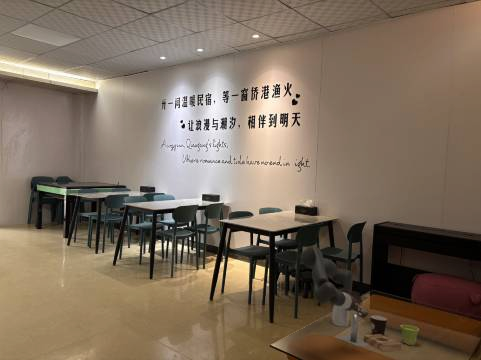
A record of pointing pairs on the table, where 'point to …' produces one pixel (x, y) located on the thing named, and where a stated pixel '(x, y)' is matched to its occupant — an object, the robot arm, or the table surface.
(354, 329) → the steel pin
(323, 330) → the table surface
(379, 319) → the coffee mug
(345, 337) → the mat
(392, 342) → the socket block
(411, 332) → the plant pot
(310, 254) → the robot arm
